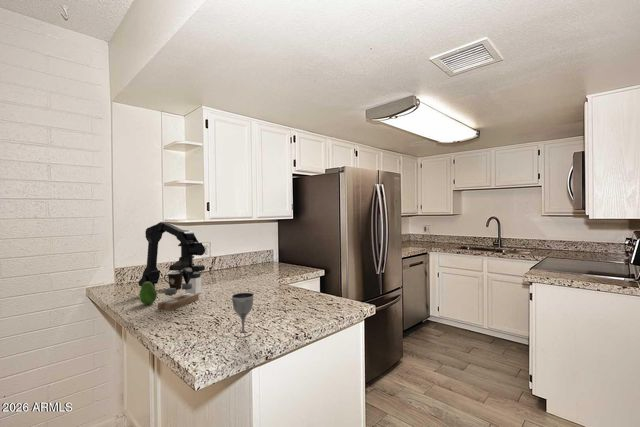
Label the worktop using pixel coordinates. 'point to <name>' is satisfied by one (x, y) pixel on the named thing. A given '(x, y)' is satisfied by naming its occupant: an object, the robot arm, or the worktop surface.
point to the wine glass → (242, 305)
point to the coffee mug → (174, 280)
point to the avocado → (148, 293)
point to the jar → (195, 283)
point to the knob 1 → (170, 291)
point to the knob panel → (177, 301)
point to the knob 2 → (187, 286)
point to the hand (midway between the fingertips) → (187, 283)
